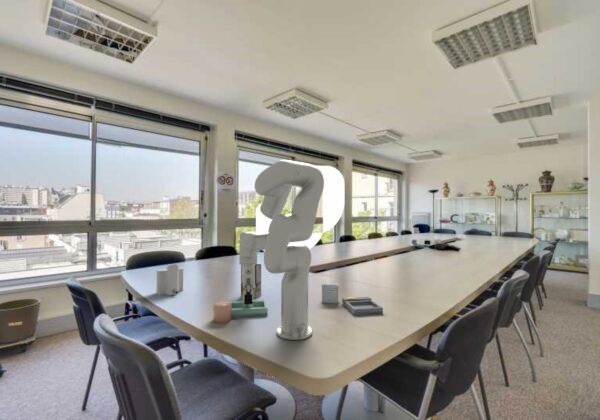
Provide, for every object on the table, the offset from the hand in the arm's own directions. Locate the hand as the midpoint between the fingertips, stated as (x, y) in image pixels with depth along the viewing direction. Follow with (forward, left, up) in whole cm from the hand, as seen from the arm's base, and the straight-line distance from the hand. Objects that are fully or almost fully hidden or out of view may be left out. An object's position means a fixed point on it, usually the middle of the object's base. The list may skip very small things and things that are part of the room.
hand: (248, 300), depth 124 cm
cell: (0, 0, -4) cm, 4 cm away
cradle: (-4, -50, -5) cm, 50 cm away
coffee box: (+25, -2, -5) cm, 26 cm away
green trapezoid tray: (0, 0, -5) cm, 5 cm away
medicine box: (+8, -39, -5) cm, 40 cm away
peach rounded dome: (-7, +10, -5) cm, 13 cm away
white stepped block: (+36, +39, -5) cm, 53 cm away
